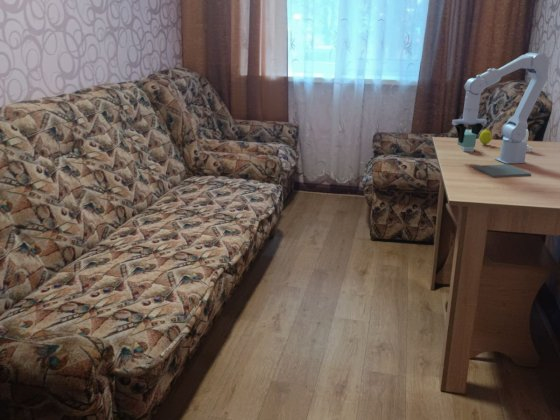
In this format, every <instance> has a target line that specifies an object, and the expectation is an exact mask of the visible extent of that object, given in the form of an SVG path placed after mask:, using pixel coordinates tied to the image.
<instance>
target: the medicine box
mask: <svg viewBox="0 0 560 420" xmlns="http://www.w3.org/2000/svg"><path fill="white" fill-rule="evenodd" d="M465 132H470V133H471V129H466V130H465ZM461 149H462V150H463V151H462V152H467V153H474V149H475V147H462V146H461Z"/></svg>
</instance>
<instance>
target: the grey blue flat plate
mask: <svg viewBox="0 0 560 420" xmlns="http://www.w3.org/2000/svg"><path fill="white" fill-rule="evenodd" d="M472 168H473V169H474V170H477V171H479V172H481V173H483V174H485V175H487V176H489V177H492V178H509V177H513V178H514V177H531V176H532V173H531V172H528V171H526V170H524V169H520V168H518V167H516V166H514V165H511V164H505V163H503V164H489V165H488V164H487V165H485V164H484V165H473V166H472Z"/></svg>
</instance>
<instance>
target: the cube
mask: <svg viewBox="0 0 560 420" xmlns="http://www.w3.org/2000/svg"><path fill="white" fill-rule="evenodd" d="M476 136H477V135H476V134H473V133H470V132H465V133H464V139H463V143H460V142H459V140H458V139H457V145H458V146H461V148H462V147H474V148H475V147H476V143H477V142H476V141H477V138H476ZM477 137H478V136H477Z"/></svg>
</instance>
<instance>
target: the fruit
mask: <svg viewBox="0 0 560 420" xmlns="http://www.w3.org/2000/svg"><path fill="white" fill-rule="evenodd" d="M492 134H493V133H492V131H490V130H489V129H488V128H485V129H483V130H481V131H480V133H479V138H478V139H479V142H480V143H481V144H482V145H484V146H487V144H489V143H490V142H491V141H492V138H493V135H492Z"/></svg>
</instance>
